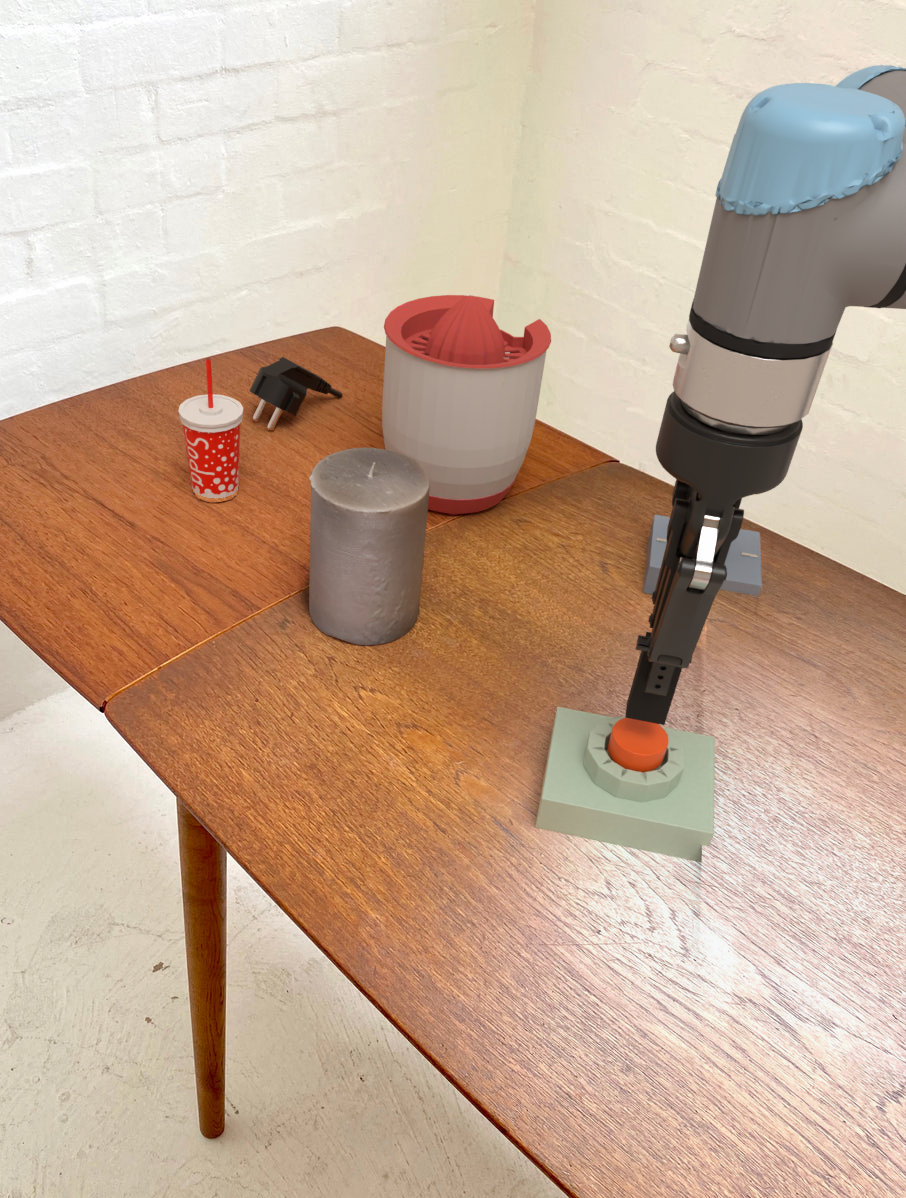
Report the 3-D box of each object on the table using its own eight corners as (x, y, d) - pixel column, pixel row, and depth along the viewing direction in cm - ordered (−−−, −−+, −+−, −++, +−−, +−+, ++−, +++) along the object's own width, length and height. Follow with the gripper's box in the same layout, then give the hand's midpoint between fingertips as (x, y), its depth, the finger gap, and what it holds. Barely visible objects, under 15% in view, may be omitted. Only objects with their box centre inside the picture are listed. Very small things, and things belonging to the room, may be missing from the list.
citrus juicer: (567, 484, 116) (602, 296, 102) (457, 547, 106) (480, 348, 93) (455, 428, 123) (474, 246, 110) (343, 482, 114) (350, 289, 100)
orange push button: (664, 739, 81) (669, 722, 80) (662, 777, 78) (667, 760, 77) (609, 728, 82) (614, 711, 80) (605, 766, 79) (610, 748, 78)
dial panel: (751, 557, 108) (760, 529, 105) (752, 613, 101) (762, 584, 99) (647, 539, 109) (654, 512, 107) (642, 593, 102) (649, 565, 100)
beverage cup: (174, 484, 112) (163, 352, 102) (228, 469, 115) (222, 339, 105) (201, 513, 108) (192, 379, 99) (257, 497, 111) (253, 365, 101)
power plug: (359, 398, 126) (292, 363, 116) (329, 458, 128) (260, 428, 118) (327, 379, 129) (259, 344, 119) (297, 438, 130) (228, 408, 121)
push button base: (704, 766, 86) (721, 719, 82) (702, 863, 78) (720, 816, 75) (550, 735, 87) (561, 688, 84) (534, 828, 80) (545, 780, 77)
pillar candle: (395, 572, 103) (406, 425, 93) (434, 636, 96) (451, 485, 86) (294, 589, 100) (294, 440, 90) (327, 656, 93) (331, 503, 83)
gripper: (673, 345, 67) (599, 647, 83) (664, 448, 57) (582, 767, 73) (800, 364, 66) (701, 666, 82) (812, 472, 56) (697, 791, 72)
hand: (645, 714), depth 77 cm, fingers closed
